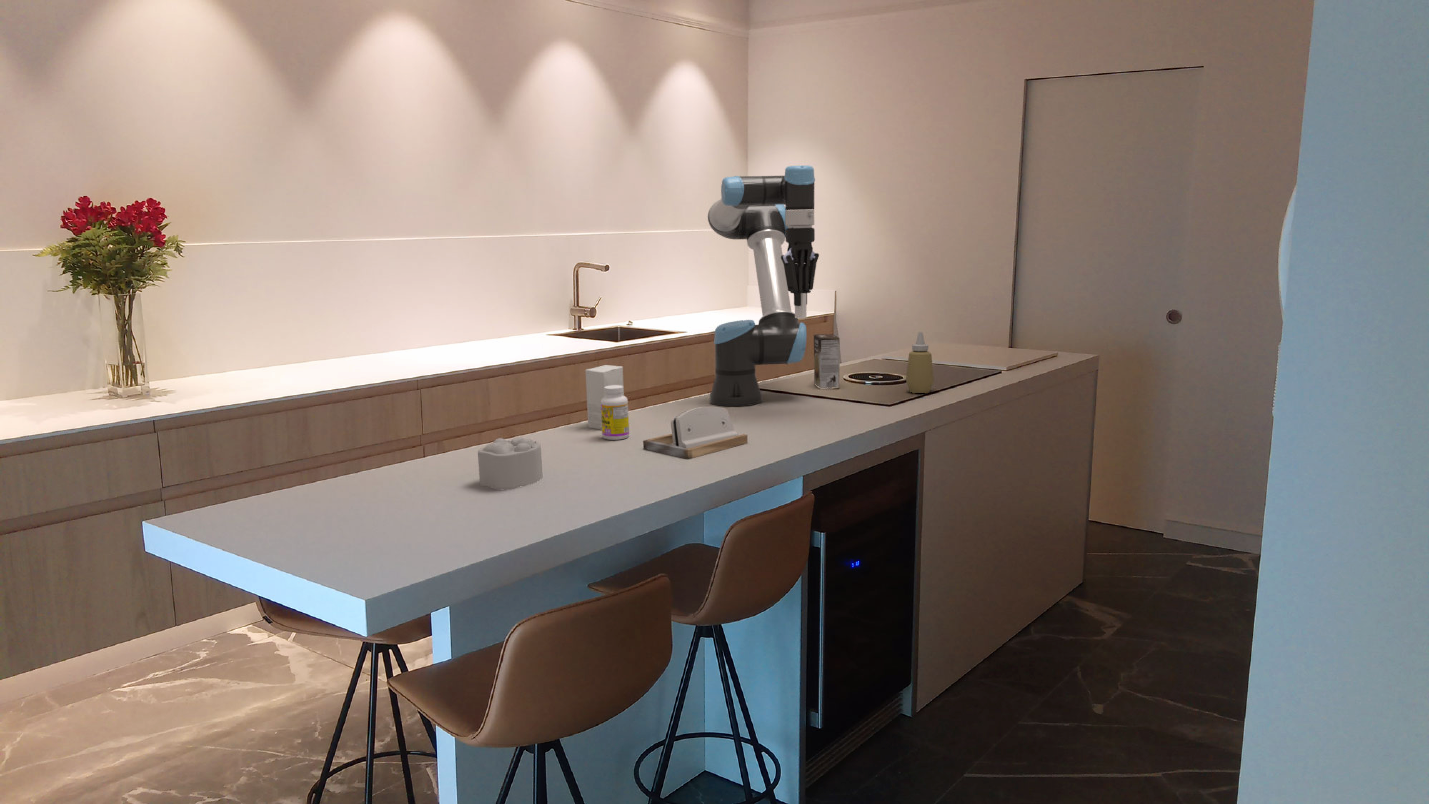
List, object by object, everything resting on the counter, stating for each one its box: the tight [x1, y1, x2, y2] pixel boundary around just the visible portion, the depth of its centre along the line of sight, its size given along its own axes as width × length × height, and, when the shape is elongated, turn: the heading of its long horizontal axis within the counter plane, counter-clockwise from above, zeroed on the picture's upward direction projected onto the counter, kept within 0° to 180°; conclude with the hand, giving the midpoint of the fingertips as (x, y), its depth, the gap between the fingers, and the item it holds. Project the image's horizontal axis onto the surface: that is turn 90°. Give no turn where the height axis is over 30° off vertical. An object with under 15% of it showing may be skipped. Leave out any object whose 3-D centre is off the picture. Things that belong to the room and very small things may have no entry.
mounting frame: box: [642, 433, 749, 460], centre depth 226 cm, size 15×20×2 cm
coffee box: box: [813, 333, 841, 388], centre depth 298 cm, size 9×6×16 cm
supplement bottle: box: [601, 385, 630, 441], centre depth 236 cm, size 7×7×13 cm
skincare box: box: [585, 364, 625, 431], centre depth 249 cm, size 8×7×16 cm
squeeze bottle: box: [905, 332, 935, 394], centre depth 285 cm, size 8×8×18 cm
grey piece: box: [670, 406, 739, 449], centre depth 228 cm, size 17×5×10 cm, turn 129°
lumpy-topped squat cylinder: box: [477, 436, 544, 491], centre depth 200 cm, size 10×13×9 cm
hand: (800, 318), depth 252 cm, fingers closed
